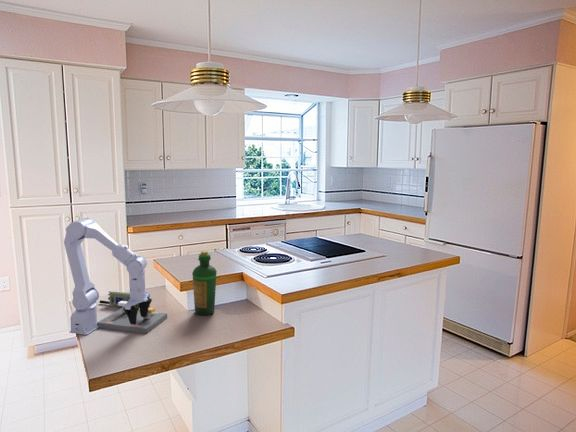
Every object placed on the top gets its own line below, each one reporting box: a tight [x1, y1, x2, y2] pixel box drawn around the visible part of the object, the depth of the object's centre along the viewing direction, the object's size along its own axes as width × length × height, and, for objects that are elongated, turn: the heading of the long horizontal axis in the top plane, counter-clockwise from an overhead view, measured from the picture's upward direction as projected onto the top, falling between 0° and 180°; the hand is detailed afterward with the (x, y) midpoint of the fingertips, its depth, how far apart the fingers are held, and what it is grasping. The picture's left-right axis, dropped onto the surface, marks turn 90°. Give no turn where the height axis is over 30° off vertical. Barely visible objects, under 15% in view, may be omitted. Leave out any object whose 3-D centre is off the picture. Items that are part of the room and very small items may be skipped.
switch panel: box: [97, 307, 168, 334], centre depth 167 cm, size 16×22×2 cm
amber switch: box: [139, 307, 156, 319], centre depth 165 cm, size 2×6×4 cm, turn 78°
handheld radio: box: [98, 290, 151, 308], centre depth 183 cm, size 7×3×25 cm
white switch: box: [118, 301, 127, 313], centre depth 171 cm, size 2×6×4 cm, turn 78°
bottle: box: [192, 250, 218, 316], centre depth 177 cm, size 11×11×28 cm
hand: (138, 320), depth 160 cm, fingers open, 7 cm apart
